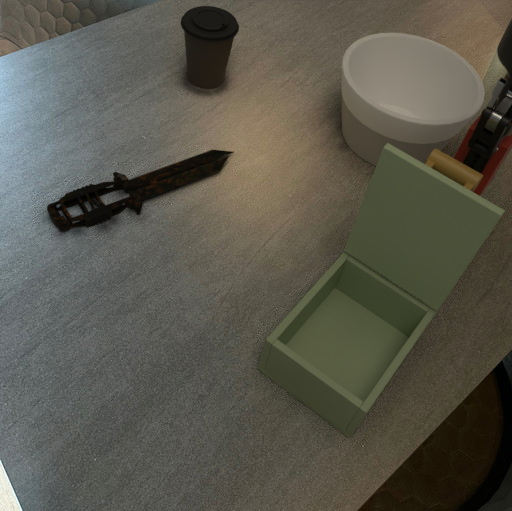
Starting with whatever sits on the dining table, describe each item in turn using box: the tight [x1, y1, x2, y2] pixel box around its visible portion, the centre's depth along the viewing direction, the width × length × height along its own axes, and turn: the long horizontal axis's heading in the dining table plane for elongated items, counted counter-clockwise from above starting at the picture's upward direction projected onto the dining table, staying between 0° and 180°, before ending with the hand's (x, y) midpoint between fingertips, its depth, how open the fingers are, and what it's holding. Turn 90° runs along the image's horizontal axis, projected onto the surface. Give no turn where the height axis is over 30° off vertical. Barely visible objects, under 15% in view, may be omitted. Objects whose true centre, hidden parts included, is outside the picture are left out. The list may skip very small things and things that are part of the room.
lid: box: [343, 143, 505, 312], centre depth 61 cm, size 15×12×5 cm
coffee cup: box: [180, 5, 240, 90], centre depth 89 cm, size 8×8×10 cm
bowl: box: [340, 32, 486, 167], centre depth 86 cm, size 19×19×11 cm
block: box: [453, 113, 512, 197], centre depth 68 cm, size 4×4×8 cm
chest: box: [257, 251, 438, 439], centre depth 65 cm, size 15×12×6 cm
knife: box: [46, 149, 235, 232], centre depth 78 cm, size 25×6×1 cm, turn 118°
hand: (479, 159), depth 68 cm, fingers closed on block, 4 cm apart
